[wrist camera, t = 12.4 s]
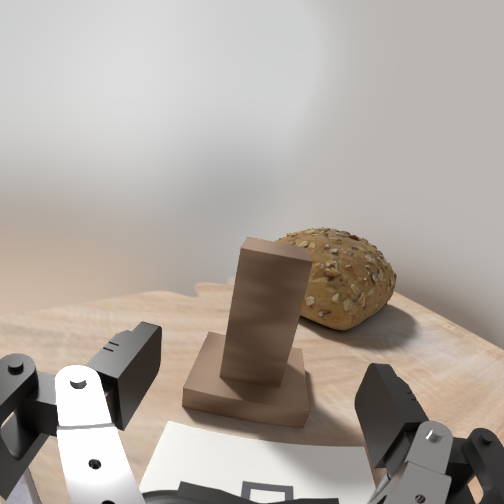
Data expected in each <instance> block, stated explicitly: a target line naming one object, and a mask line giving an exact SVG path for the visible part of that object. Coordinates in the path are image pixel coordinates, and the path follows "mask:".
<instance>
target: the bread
mask: <svg viewBox="0 0 504 504" xmlns="http://www.w3.org/2000/svg"><path fill="white" fill-rule="evenodd" d="M275 242H278V243H283V244H288V245H293V246H299V247H304V248H306V250H307V252H308V253H309V255H310V257H311V259H312V261H313V263H312V268H311V272H310V276H309V281H308V285H307V289H306V293H305V297H304V301H303V305H302V309H301V313H300V315H301V316H304V317H306V318H308V319H310V320H312V321H314V322H317V323H319V324H321V325H324V326H327V327H330V328H332V329H336V330H347V329H350V328H352V327H355V326H357V325H358V324H360V323H361V322H362V321H364V320H365V319H367V318H368V317H370V316H372V315H374V314H375V313H376V312H378V311H379V310H380V309H381V308H382V307H383V306H384V305H387V302H388V301H389V300H390V298H391V296H392V295H393V292H394V288H395V283H396V278H397V275H396V273H394V272H393V270H392V269H391V266H390V263H388V262H386V260H387V259H386V260H385V258H384V257H383V254H382V253H381V252H380V251H378V250H377V248H376V246H374V245H371V244H370V243H368V241H367V240H366V239H364V238H362V239H361V238H359V237H357V236H355V235H350V233H348V232H345V231H342V232H341V231H338V230H336V229H330V228H319V229H313V228H312V229H308V230H305V231H299V232H295V233H289V234H287V236H286V237H284V238H280V239H279V240H277V241H275Z"/></svg>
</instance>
